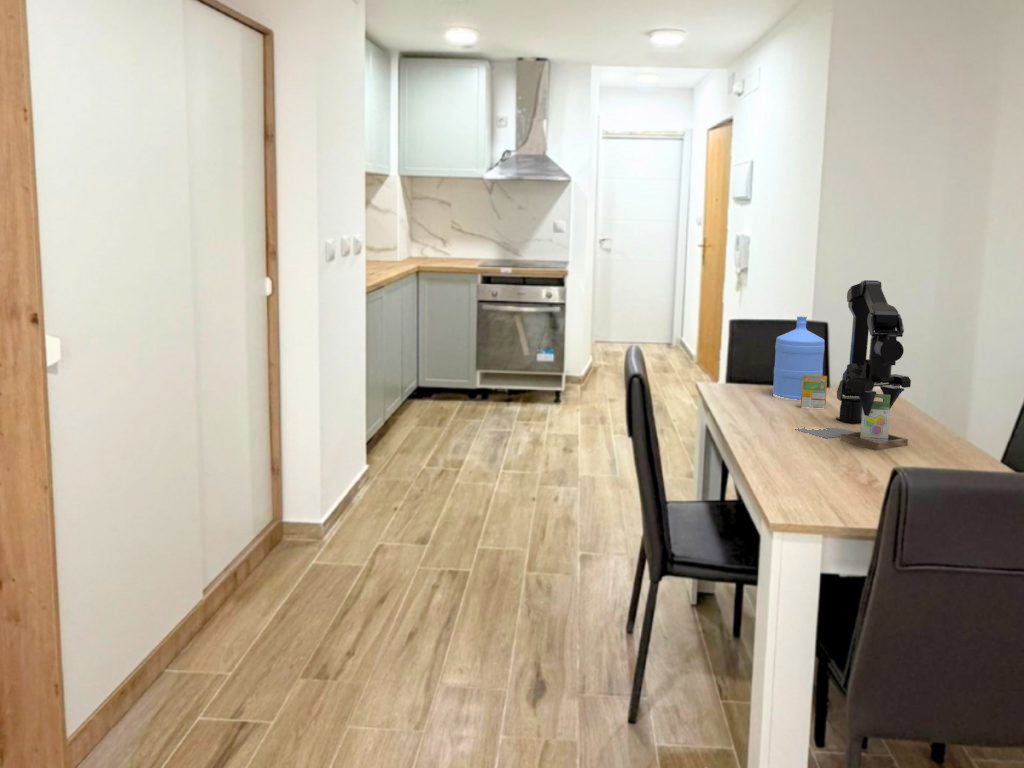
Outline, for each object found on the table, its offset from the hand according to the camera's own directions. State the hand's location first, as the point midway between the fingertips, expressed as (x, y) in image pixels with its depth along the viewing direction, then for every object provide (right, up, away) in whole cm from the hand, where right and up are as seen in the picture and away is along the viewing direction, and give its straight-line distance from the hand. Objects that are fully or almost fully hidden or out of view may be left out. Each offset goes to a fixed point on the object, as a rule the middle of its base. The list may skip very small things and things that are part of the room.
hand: (875, 414), depth 255 cm
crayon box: (-2, -1, +46) cm, 46 cm away
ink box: (0, -8, +1) cm, 8 cm away
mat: (-9, -6, +15) cm, 18 cm away
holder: (0, -8, +1) cm, 8 cm away
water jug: (-2, +2, +64) cm, 64 cm away
